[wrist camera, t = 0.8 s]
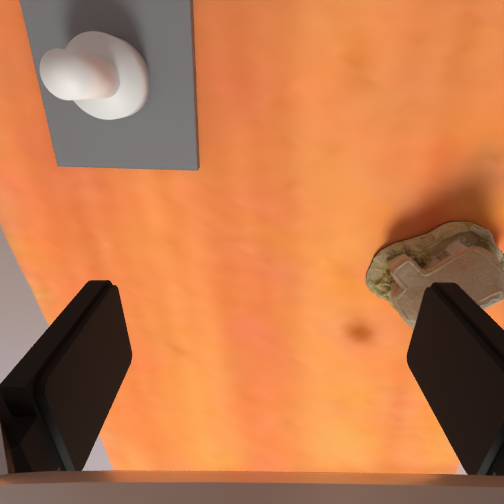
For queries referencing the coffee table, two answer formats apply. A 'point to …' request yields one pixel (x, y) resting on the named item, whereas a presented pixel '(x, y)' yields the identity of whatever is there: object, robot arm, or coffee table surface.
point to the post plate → (169, 79)
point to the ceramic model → (439, 267)
